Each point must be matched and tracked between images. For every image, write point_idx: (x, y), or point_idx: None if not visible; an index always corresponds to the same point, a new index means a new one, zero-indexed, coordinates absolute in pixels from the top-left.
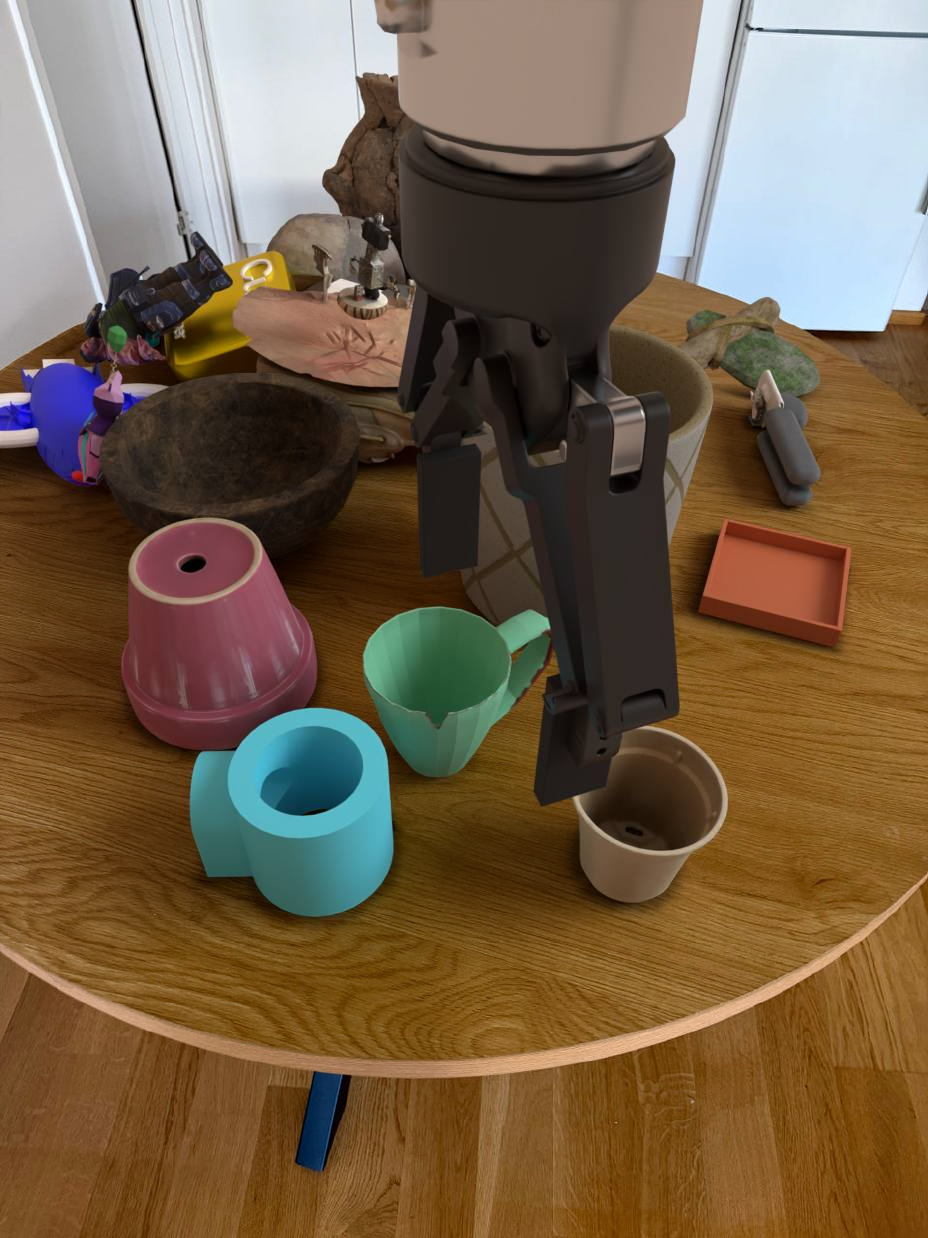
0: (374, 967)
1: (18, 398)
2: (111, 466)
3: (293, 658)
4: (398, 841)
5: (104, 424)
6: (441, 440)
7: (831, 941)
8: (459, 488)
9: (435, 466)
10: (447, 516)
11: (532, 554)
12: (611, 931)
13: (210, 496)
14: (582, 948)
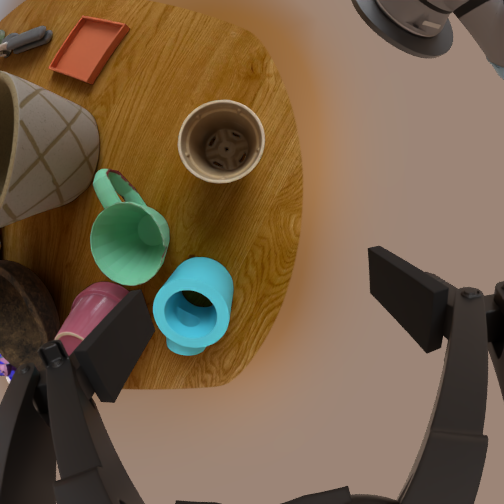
0: (259, 270)
1: (8, 379)
2: None
3: (109, 301)
4: (200, 254)
5: (14, 367)
6: (84, 389)
7: (280, 76)
8: (112, 349)
9: (110, 388)
10: (128, 344)
11: (59, 178)
12: (260, 166)
13: (26, 318)
14: (266, 181)
